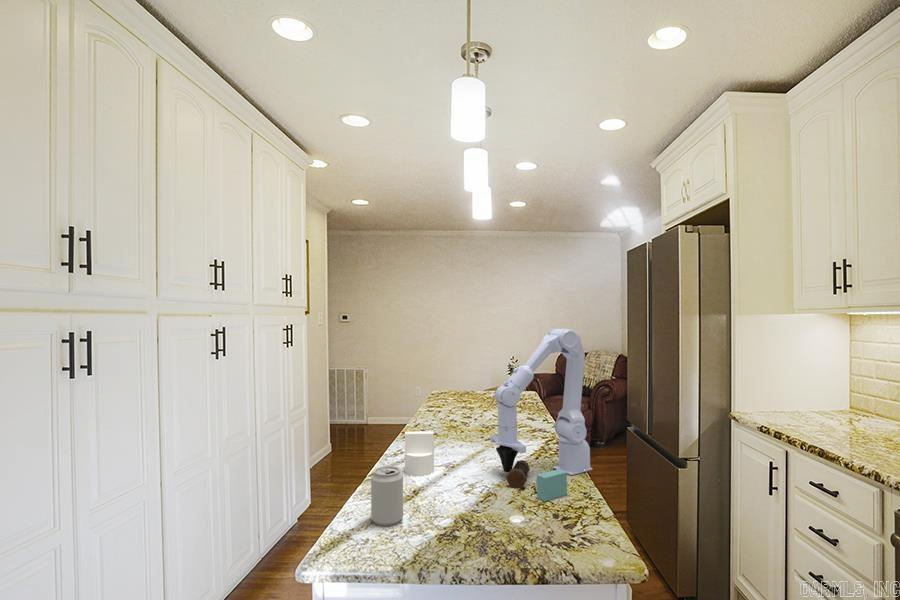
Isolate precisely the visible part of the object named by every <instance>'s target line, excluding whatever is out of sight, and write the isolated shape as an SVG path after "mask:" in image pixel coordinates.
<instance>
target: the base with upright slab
mask: <svg viewBox="0 0 900 600" xmlns="http://www.w3.org/2000/svg"><path fill="white" fill-rule="evenodd" d="M434 435H435V434H434V431H433V430H426V431H425V430H420V431H419V430H418V431H405V432H404V473H405V474H406V475H407V474H408V475H407V476H410V475H412V476H411V477H418V476H419V477H425V476H424V475H427V476H430V475H432V474H433V473H434V472H435V444H434V443H435V438H434ZM431 473H432V474H431ZM429 474H430V475H429Z"/></svg>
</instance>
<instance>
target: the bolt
mask: <svg viewBox="0 0 900 600" xmlns="http://www.w3.org/2000/svg"><path fill="white" fill-rule="evenodd" d="M530 470H531V469H530V466H529V463H528V461H526V460H525V459H523V460H522V459H520V460H516V462H515V465H513V467H512V469H511V470H510V472H508V474H507V476H506V478H505V479H506V482H507V483H508V485H509V487H510V488H511V487H512V489H518V488H521V489H523V487H524V486H525V484H526V482H527V480H528V478H527V476H528V473H529V472H530Z"/></svg>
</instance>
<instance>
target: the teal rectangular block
mask: <svg viewBox="0 0 900 600" xmlns="http://www.w3.org/2000/svg"><path fill="white" fill-rule="evenodd" d="M535 483H536V498H537V499H538V500H541V501H543V502H547V501H551V500H555V499H557V498H561V497H565V496H567V495H568V474H567V472H565V471H562V470H559V469H557V470H556V469H554V470H550V471H547V472H542V473H539V474H536V479H535Z"/></svg>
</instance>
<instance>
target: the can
mask: <svg viewBox="0 0 900 600" xmlns="http://www.w3.org/2000/svg"><path fill="white" fill-rule="evenodd" d="M370 480H371V481H370V485H371V486H370V491H371V492H370V494H371V495H370V496H371V497H370V499H371V500H370V502H371V504H370V510H371V511H370V513H371V514H370V515H371V516H370V517H371V520H372V521H373V522H374V523H375V524H376V525H378V526H382V527H389V526H393V525H396V524H398V523H400V521H401V520H402V519H403V517H404V475H403V473H401V469H400V468H399V467H398V466H396V465H395V466H393V465H383V466H379V467H376V468H375V469H374V470H373V474H372V475H371V476H370Z"/></svg>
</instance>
